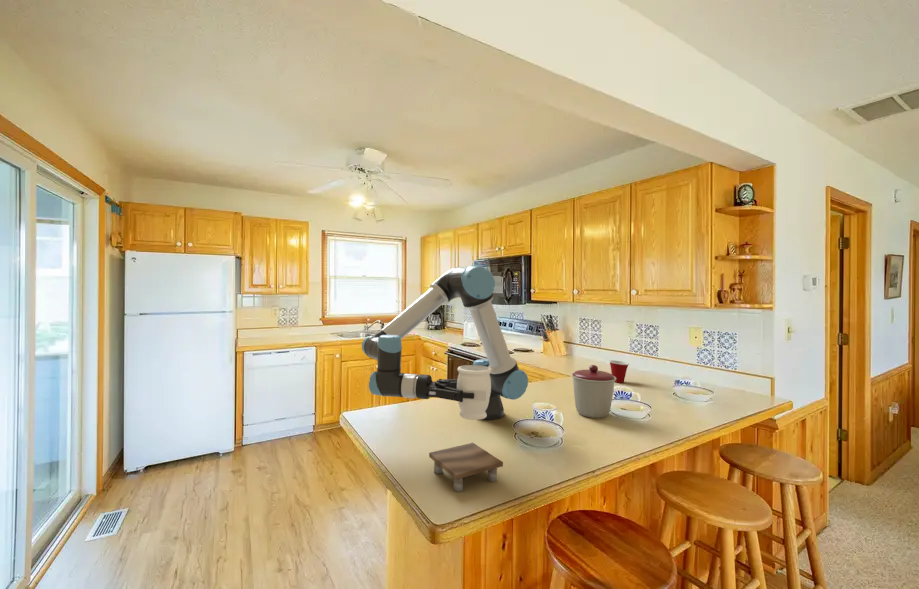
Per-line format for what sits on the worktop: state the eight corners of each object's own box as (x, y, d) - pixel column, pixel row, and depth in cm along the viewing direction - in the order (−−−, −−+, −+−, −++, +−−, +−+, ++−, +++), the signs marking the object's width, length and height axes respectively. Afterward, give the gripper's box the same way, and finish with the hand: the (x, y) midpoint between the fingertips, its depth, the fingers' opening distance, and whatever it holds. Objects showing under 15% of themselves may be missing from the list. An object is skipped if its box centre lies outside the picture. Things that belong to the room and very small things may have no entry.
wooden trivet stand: (428, 470, 110) (429, 452, 110) (472, 459, 118) (472, 442, 118) (455, 495, 98) (455, 474, 97) (502, 480, 105) (502, 462, 105)
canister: (565, 407, 173) (566, 360, 172) (606, 408, 172) (607, 361, 172) (576, 421, 155) (578, 369, 154) (622, 422, 154) (623, 370, 154)
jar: (490, 411, 124) (492, 365, 123) (489, 422, 113) (490, 372, 113) (458, 409, 125) (459, 363, 125) (453, 420, 115) (455, 370, 114)
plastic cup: (632, 384, 217) (632, 363, 217) (612, 384, 217) (613, 363, 217) (624, 380, 228) (624, 360, 228) (605, 379, 228) (606, 359, 228)
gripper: (426, 389, 133) (490, 393, 130) (406, 408, 111) (483, 415, 107) (427, 367, 133) (491, 371, 129) (407, 382, 111) (483, 388, 107)
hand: (487, 391), depth 118 cm, fingers closed on jar, 10 cm apart
